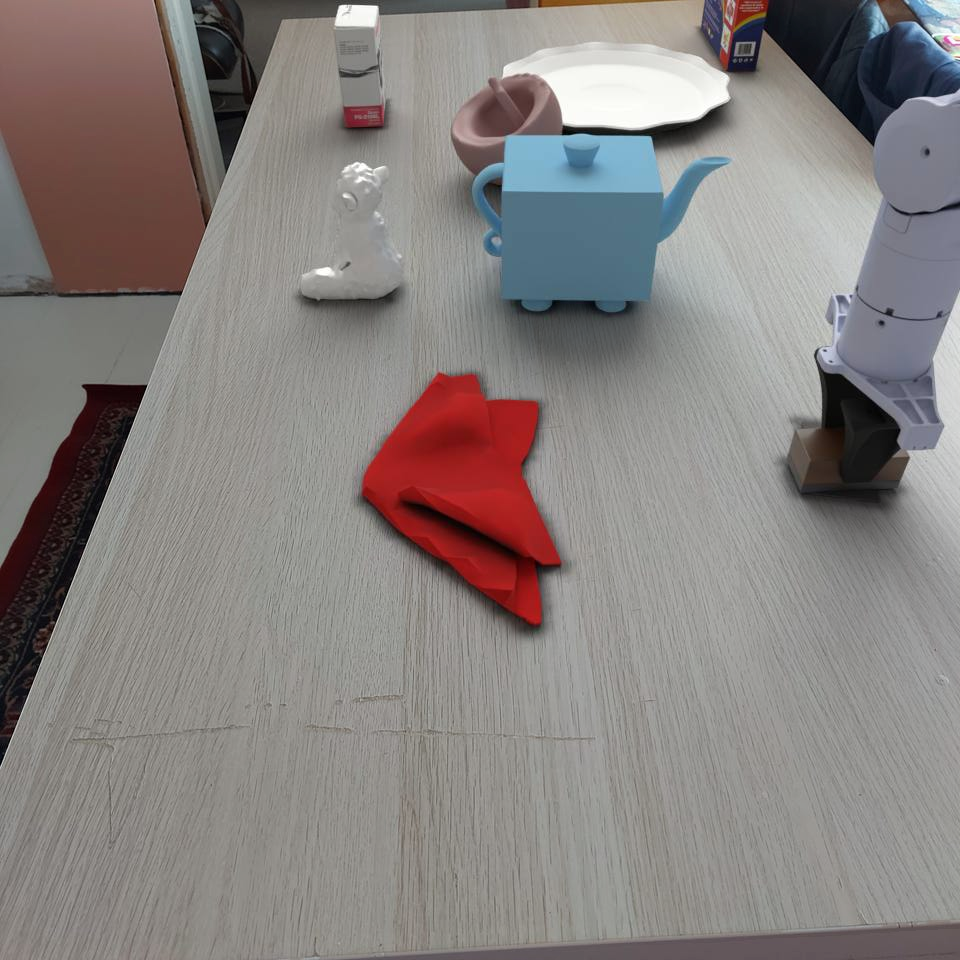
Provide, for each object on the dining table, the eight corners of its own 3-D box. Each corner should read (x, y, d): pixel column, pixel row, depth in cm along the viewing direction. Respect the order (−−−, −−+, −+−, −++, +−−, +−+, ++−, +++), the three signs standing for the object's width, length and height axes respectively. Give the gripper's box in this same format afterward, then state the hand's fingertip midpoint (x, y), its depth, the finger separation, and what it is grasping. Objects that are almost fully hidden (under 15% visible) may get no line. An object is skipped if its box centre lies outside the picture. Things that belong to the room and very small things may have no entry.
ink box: (384, 127, 113) (375, 25, 104) (344, 128, 113) (332, 26, 104) (387, 100, 119) (378, 2, 111) (349, 101, 119) (337, 3, 111)
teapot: (470, 315, 82) (466, 167, 72) (476, 252, 90) (474, 112, 80) (717, 318, 81) (746, 169, 71) (701, 254, 89) (725, 113, 80)
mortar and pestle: (434, 170, 104) (429, 66, 96) (526, 148, 107) (528, 46, 100) (483, 214, 96) (481, 104, 88) (580, 189, 100) (587, 81, 92)
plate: (451, 107, 117) (450, 88, 115) (585, 45, 133) (586, 28, 131) (644, 170, 103) (646, 149, 101) (769, 92, 119) (772, 73, 117)
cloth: (374, 378, 75) (372, 355, 74) (540, 374, 75) (541, 351, 74) (347, 632, 56) (342, 609, 55) (568, 627, 57) (570, 604, 55)
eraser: (879, 455, 67) (891, 424, 65) (897, 488, 65) (910, 457, 63) (785, 459, 67) (794, 428, 65) (800, 492, 65) (810, 461, 62)
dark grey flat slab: (869, 430, 70) (869, 429, 69) (879, 503, 64) (880, 501, 64) (801, 422, 70) (802, 420, 70) (806, 493, 65) (806, 491, 65)
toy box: (755, 70, 125) (773, -24, 117) (726, 71, 125) (742, -23, 117) (727, 27, 138) (741, -60, 130) (700, 28, 138) (713, -59, 130)
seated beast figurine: (353, 251, 91) (339, 131, 82) (428, 271, 88) (421, 149, 79) (297, 297, 85) (275, 173, 76) (375, 320, 82) (361, 194, 73)
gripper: (803, 238, 61) (762, 398, 70) (882, 368, 50) (823, 536, 60) (907, 234, 61) (853, 394, 70) (1008, 363, 50) (929, 531, 60)
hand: (845, 459), depth 65 cm, fingers closed on eraser, 3 cm apart
